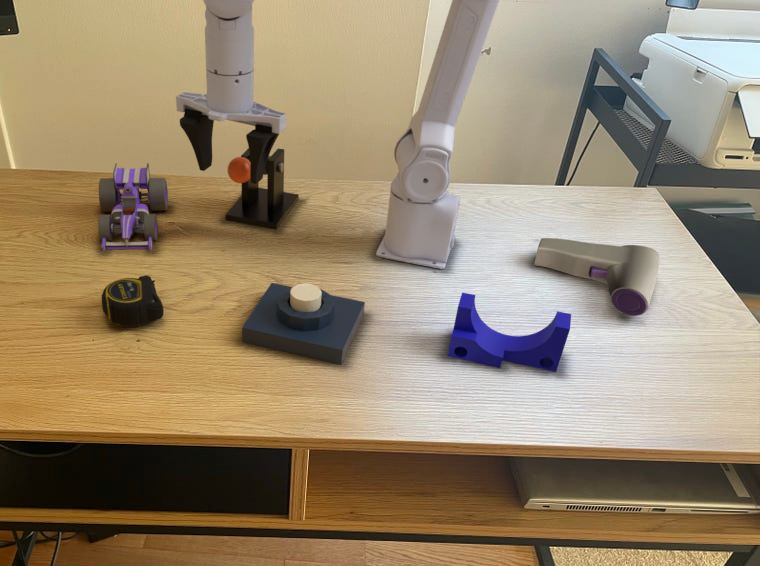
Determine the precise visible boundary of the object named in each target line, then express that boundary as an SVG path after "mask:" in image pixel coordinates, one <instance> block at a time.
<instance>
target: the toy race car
mask: <svg viewBox="0 0 760 566" xmlns="http://www.w3.org/2000/svg"><path fill="white" fill-rule="evenodd" d="M150 173H151V172H150V163H149V162H147V163H146V167H141V168H124V167H119V166H118V163H117V162H115V165H114V168H113V172H112V177H101V178H100V179H99V182H98V200H99V207H100V209H101V211H102V212H103V213H105V212H106V213H108V212H109V213H111V214H99V215H98V220H97V226H98V227H97V230H98V237H99V241H100V242H101V251H102V252H106V250H137V249H138V250H139V249H140V250H141V249H143V250H145V249H146V250H148V251H150V252H151V251H152V249H153V242H156V241H157V240H158V219H157V218H158V217H157V215H156V214H155V213H150V210H151V212H167V211H168V208H169V191H168V190H169V189H168V182H167V179H166V177H151V174H150ZM121 190H122V193H121ZM140 190H147V192H142V191H140ZM146 199H147V200H146ZM145 203H148V204H149V207H148V205H147V204H145ZM149 208H150V210H149ZM114 234H121V240H124V242H120V241H119V242H118V241H117V242H113V239H114ZM135 234H143V235H144V239H145V241H129V240H130V239H131V237H132V236H134V235H135Z"/></svg>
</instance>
